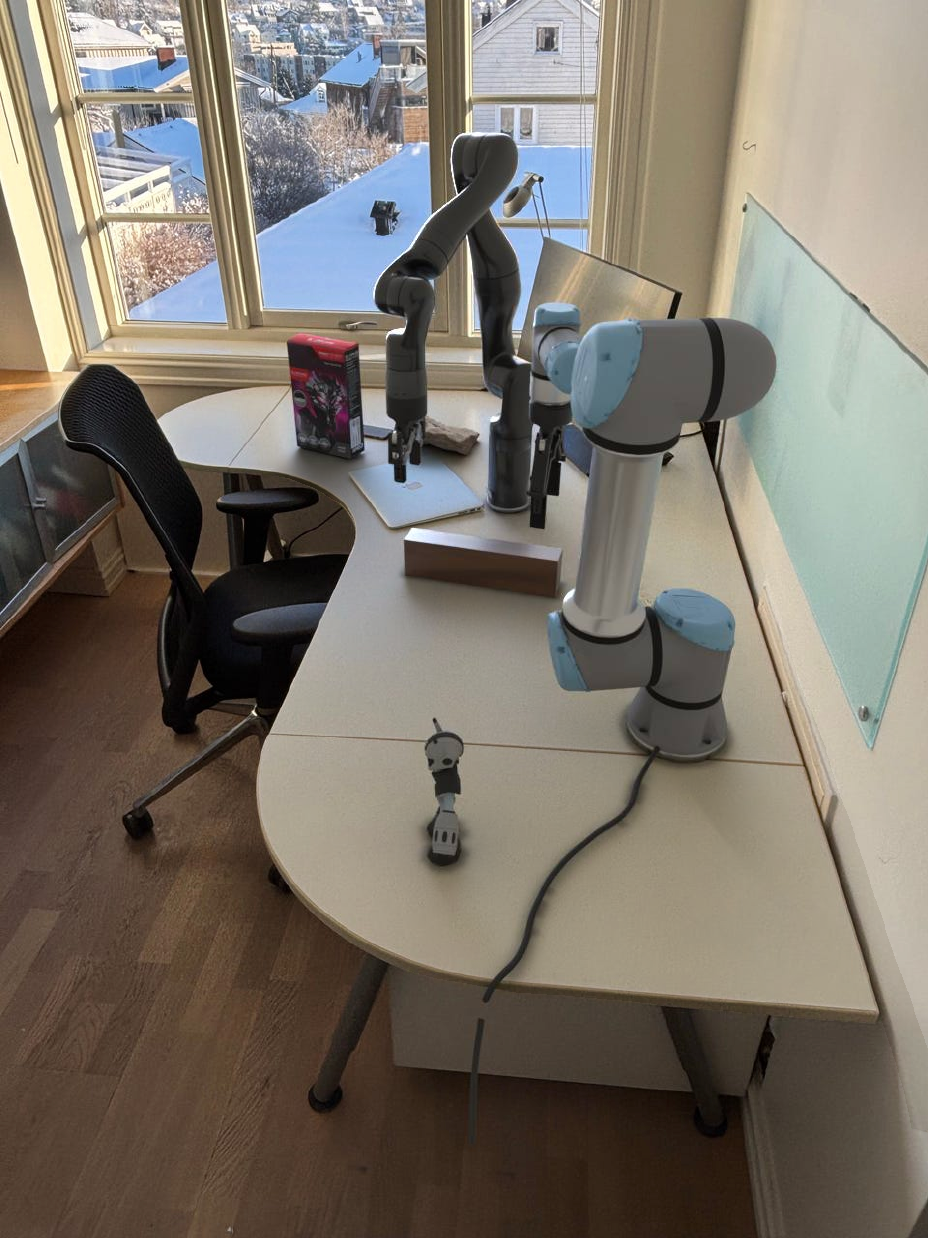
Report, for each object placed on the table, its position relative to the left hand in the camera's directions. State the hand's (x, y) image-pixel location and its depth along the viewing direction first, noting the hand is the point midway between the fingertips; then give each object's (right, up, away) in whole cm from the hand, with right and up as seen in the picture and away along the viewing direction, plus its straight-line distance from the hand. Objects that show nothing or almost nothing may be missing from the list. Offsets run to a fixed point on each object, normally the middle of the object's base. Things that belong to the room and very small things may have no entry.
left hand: (408, 472), depth 175 cm
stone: (+3, +17, +60) cm, 63 cm away
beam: (+14, -20, +5) cm, 25 cm away
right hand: (+25, -8, -7) cm, 27 cm away
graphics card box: (-23, +15, +56) cm, 63 cm away
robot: (+8, -58, -51) cm, 78 cm away
